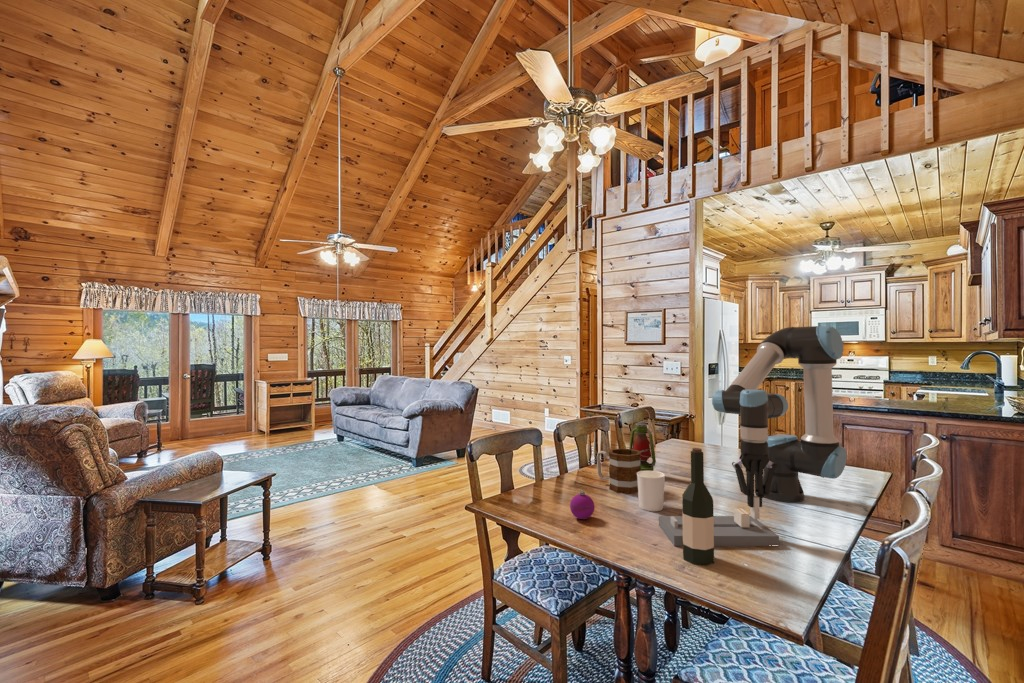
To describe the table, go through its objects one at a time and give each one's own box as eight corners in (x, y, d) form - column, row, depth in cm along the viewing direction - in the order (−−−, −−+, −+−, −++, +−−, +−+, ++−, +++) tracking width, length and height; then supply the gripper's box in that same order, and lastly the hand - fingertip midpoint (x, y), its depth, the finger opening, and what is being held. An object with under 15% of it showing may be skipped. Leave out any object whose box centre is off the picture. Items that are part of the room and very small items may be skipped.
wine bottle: (676, 552, 133) (675, 446, 133) (705, 551, 134) (704, 445, 134) (690, 566, 125) (689, 452, 125) (720, 565, 126) (719, 451, 126)
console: (752, 525, 153) (752, 509, 153) (779, 546, 137) (778, 529, 137) (658, 525, 153) (658, 509, 153) (674, 546, 137) (674, 528, 137)
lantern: (622, 474, 213) (621, 408, 214) (634, 470, 221) (634, 405, 221) (649, 480, 203) (649, 411, 204) (662, 475, 211) (661, 408, 211)
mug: (648, 488, 193) (647, 451, 194) (633, 496, 183) (632, 457, 183) (605, 479, 206) (604, 445, 206) (589, 486, 196) (588, 450, 196)
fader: (741, 521, 147) (741, 507, 147) (749, 527, 142) (749, 513, 142) (734, 521, 147) (733, 507, 147) (741, 527, 142) (741, 513, 142)
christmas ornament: (567, 521, 158) (567, 491, 158) (573, 513, 165) (573, 484, 165) (591, 524, 155) (591, 493, 155) (596, 515, 162) (596, 486, 162)
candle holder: (666, 513, 165) (666, 478, 165) (637, 511, 167) (637, 477, 167) (663, 503, 174) (663, 471, 174) (636, 502, 176) (635, 469, 176)
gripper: (769, 437, 148) (770, 513, 148) (727, 437, 149) (728, 513, 149) (782, 442, 141) (783, 522, 141) (738, 442, 141) (739, 522, 141)
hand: (754, 517), depth 145 cm, fingers closed
